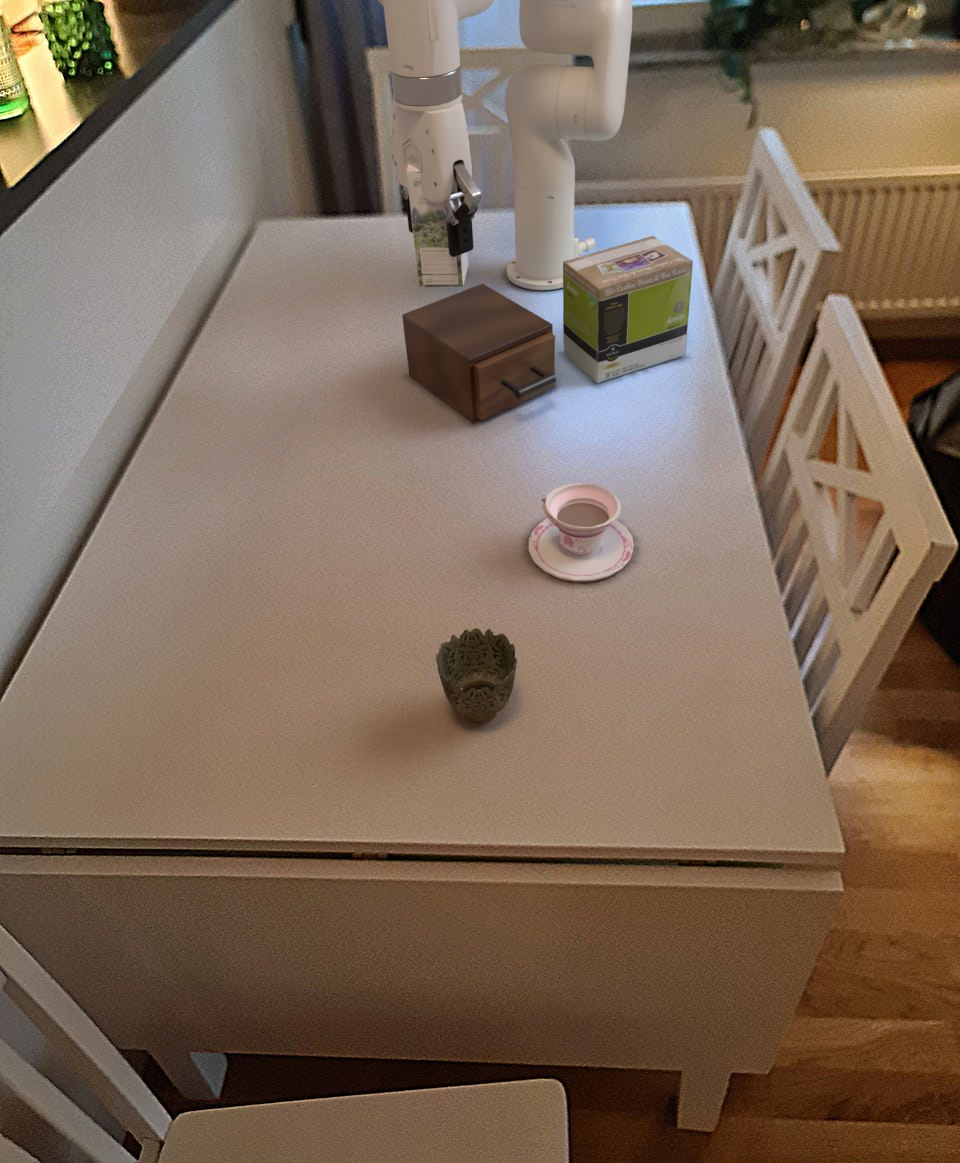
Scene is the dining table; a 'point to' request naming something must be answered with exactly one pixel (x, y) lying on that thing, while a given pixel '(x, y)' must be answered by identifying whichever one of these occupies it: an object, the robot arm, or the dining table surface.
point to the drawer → (514, 375)
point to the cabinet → (464, 341)
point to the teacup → (581, 534)
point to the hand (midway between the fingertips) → (440, 240)
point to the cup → (477, 673)
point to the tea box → (626, 308)
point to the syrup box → (433, 238)
